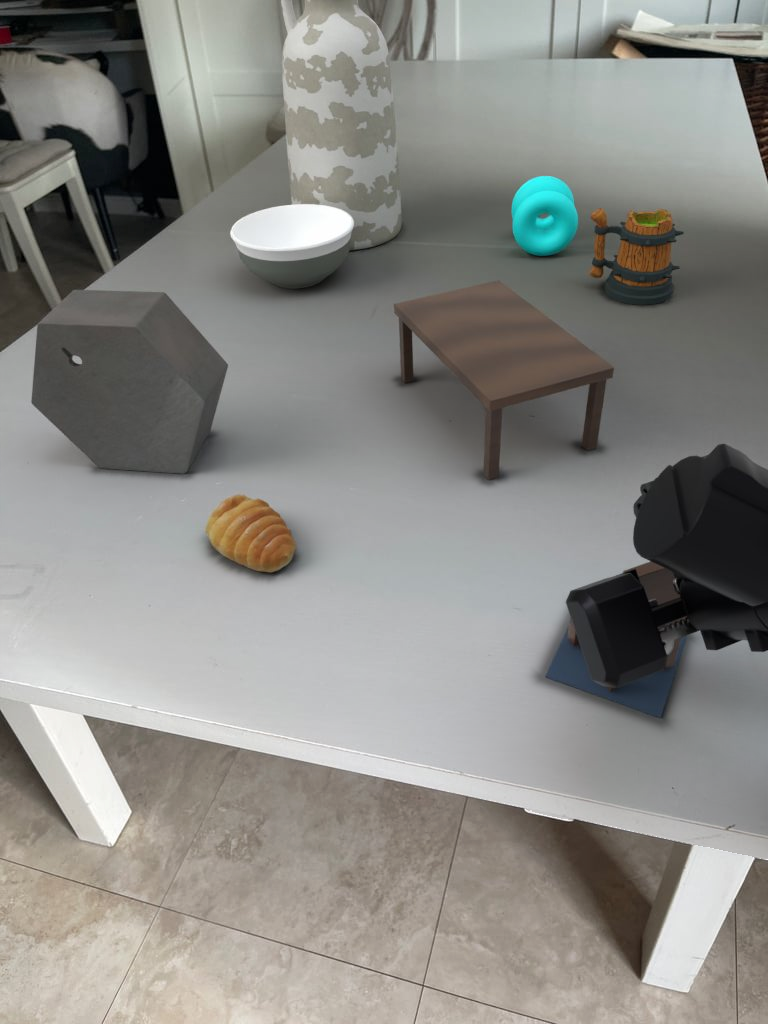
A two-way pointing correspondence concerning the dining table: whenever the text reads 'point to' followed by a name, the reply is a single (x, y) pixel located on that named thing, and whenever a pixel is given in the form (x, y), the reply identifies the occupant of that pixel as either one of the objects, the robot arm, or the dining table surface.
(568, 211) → the donuts
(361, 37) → the vase
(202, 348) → the grey hexagonal prism
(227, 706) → the dining table surface
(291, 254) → the bowl
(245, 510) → the pastry
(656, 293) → the mug
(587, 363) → the side table
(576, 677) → the mat
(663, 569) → the chair
